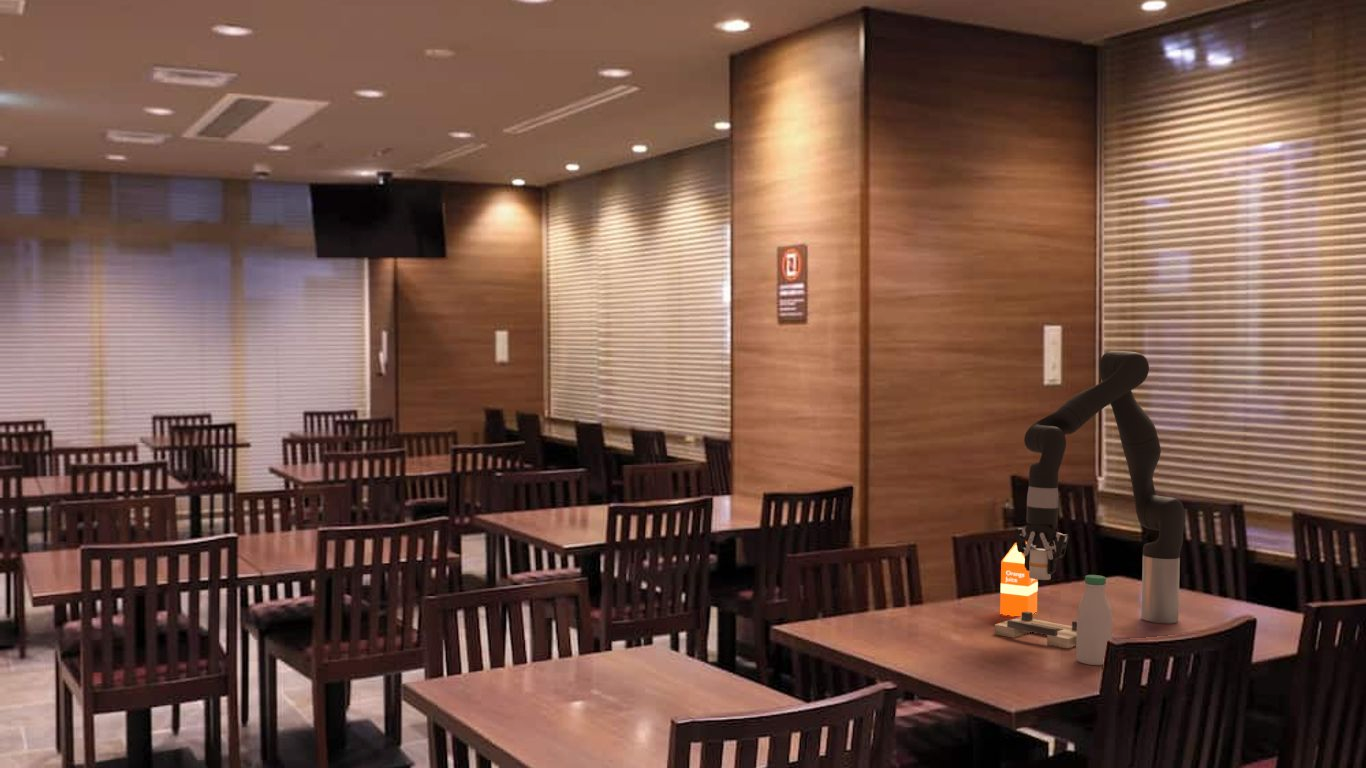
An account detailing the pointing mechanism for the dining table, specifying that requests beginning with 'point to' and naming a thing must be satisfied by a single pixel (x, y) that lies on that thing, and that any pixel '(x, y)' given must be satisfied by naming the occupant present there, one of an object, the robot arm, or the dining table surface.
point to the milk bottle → (1093, 622)
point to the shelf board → (1039, 630)
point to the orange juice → (1017, 585)
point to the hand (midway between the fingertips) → (1040, 571)
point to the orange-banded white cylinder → (1039, 564)
